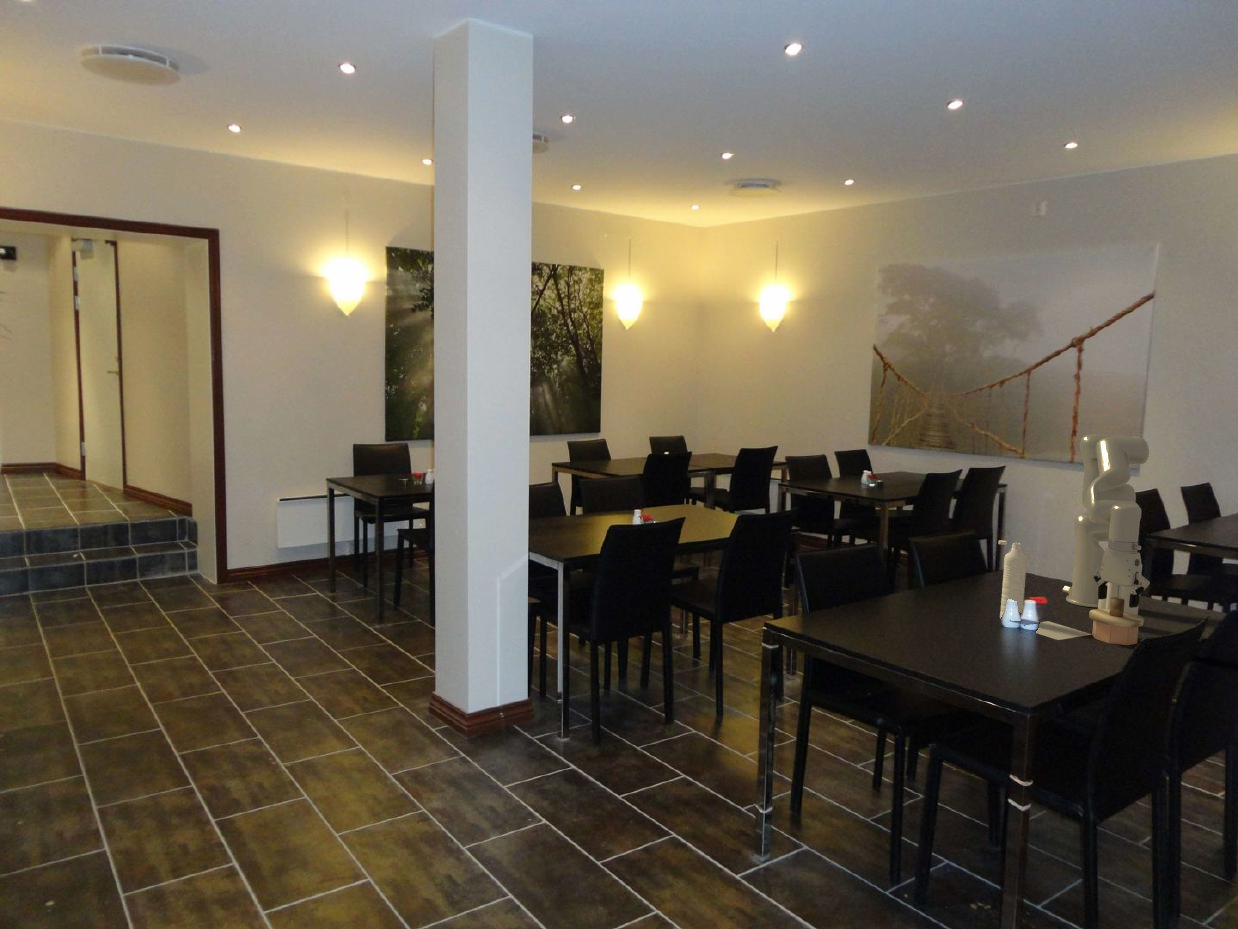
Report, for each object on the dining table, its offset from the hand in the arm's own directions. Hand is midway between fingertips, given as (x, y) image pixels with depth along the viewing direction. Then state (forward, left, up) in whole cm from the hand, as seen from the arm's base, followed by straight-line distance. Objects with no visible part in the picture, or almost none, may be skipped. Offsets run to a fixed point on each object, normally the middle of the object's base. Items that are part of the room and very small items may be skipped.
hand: (1117, 603), depth 258 cm
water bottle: (-28, -12, -11) cm, 33 cm away
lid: (0, 0, -5) cm, 5 cm away
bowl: (0, 0, -11) cm, 11 cm away
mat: (-13, -10, -11) cm, 20 cm away
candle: (-11, +17, -11) cm, 23 cm away
